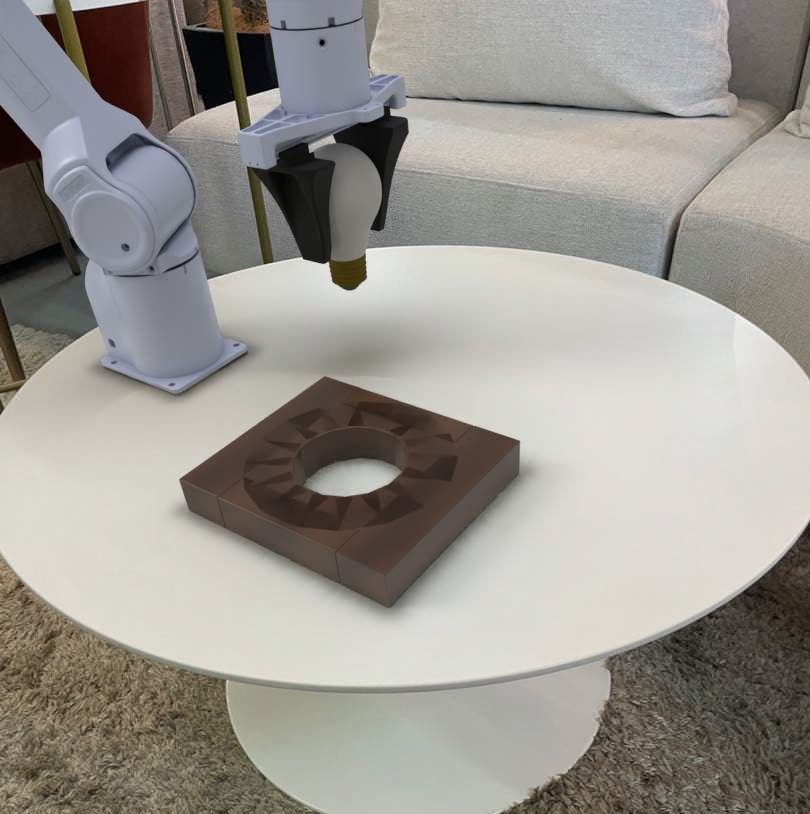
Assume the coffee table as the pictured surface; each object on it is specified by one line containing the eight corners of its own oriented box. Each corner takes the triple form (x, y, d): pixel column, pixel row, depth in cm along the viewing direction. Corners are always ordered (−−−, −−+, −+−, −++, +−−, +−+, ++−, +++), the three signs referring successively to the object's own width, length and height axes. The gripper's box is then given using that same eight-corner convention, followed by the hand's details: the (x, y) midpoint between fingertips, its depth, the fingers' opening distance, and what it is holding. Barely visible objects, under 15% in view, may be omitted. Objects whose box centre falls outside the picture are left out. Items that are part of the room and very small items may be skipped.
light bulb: (380, 307, 57) (366, 158, 51) (301, 306, 58) (277, 160, 52) (397, 272, 61) (385, 130, 55) (323, 271, 63) (302, 132, 56)
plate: (188, 510, 51) (178, 479, 50) (329, 405, 59) (324, 375, 58) (389, 608, 44) (384, 575, 42) (519, 472, 52) (520, 440, 50)
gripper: (285, 51, 42) (322, 295, 52) (438, -1, 51) (446, 217, 60) (193, 44, 46) (243, 274, 55) (351, -3, 54) (371, 203, 63)
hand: (344, 243), depth 58 cm, fingers closed on light bulb, 6 cm apart
